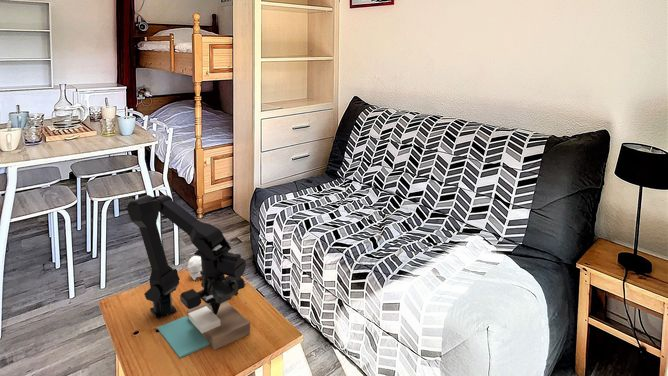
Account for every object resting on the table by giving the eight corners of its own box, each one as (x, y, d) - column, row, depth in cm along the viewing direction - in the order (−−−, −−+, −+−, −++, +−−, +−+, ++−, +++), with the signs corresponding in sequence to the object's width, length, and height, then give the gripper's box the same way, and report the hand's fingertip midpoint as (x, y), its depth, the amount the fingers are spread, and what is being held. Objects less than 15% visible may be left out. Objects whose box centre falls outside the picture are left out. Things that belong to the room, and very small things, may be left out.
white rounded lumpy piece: (193, 251, 166) (222, 258, 165) (193, 270, 169) (222, 277, 168) (185, 259, 161) (215, 266, 159) (185, 279, 163) (215, 285, 162)
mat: (157, 328, 136) (157, 327, 136) (188, 316, 143) (188, 315, 142) (180, 358, 124) (179, 356, 124) (212, 343, 131) (212, 341, 130)
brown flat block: (188, 320, 140) (186, 310, 139) (222, 306, 148) (221, 296, 147) (214, 350, 128) (213, 338, 126) (250, 333, 135) (249, 322, 134)
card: (188, 318, 135) (188, 313, 134) (206, 311, 139) (206, 306, 138) (201, 333, 129) (201, 327, 128) (220, 325, 132) (220, 319, 132)
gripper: (194, 292, 119) (198, 339, 124) (253, 269, 131) (255, 314, 136) (177, 275, 127) (181, 321, 132) (234, 256, 139) (236, 298, 144)
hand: (215, 313), depth 136 cm, fingers closed
